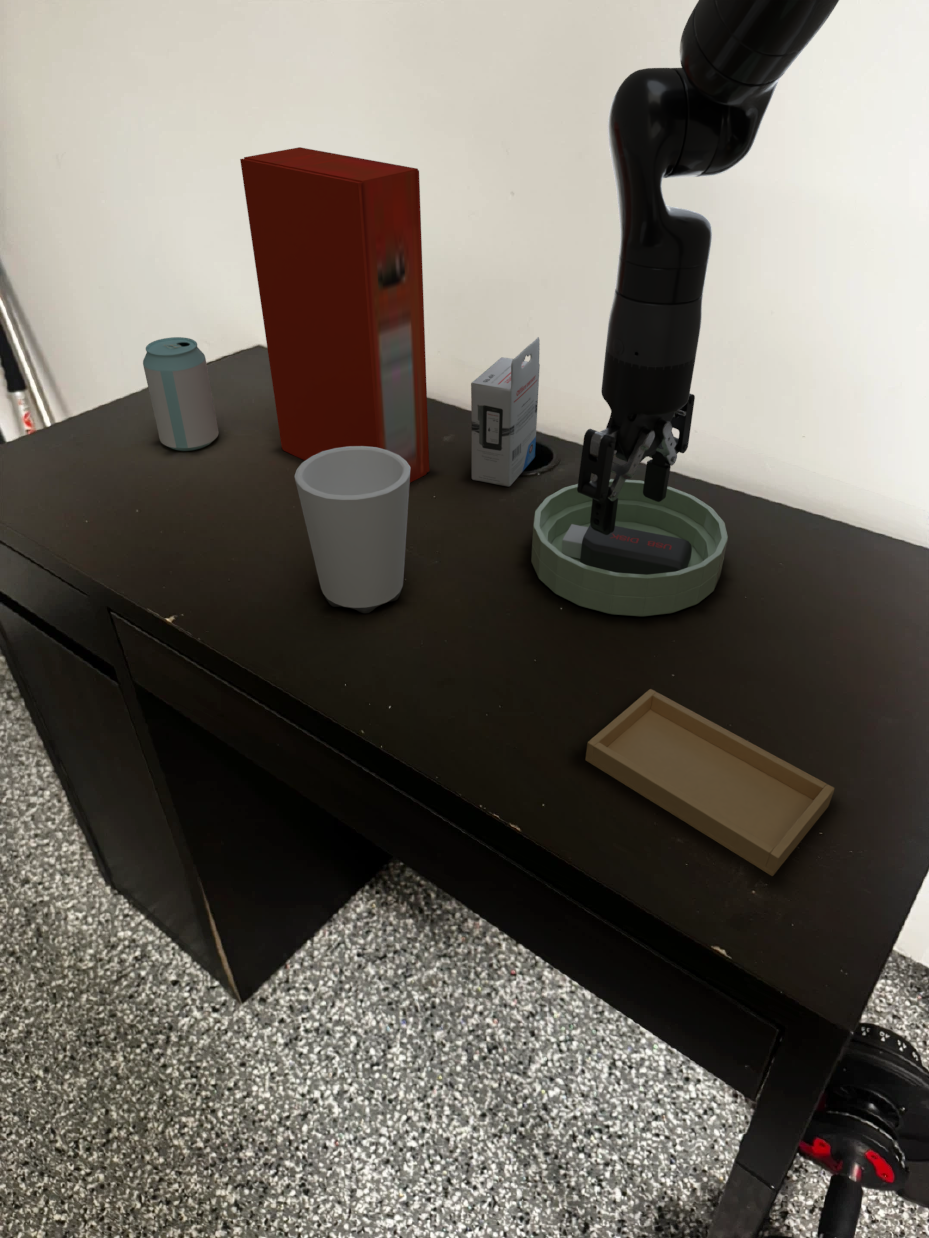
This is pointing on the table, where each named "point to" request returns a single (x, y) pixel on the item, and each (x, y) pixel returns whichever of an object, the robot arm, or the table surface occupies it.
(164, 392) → the can
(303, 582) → the table surface
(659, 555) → the usb drive
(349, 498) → the cup
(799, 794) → the tray
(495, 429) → the ink box
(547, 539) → the green round dish
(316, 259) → the file binder
